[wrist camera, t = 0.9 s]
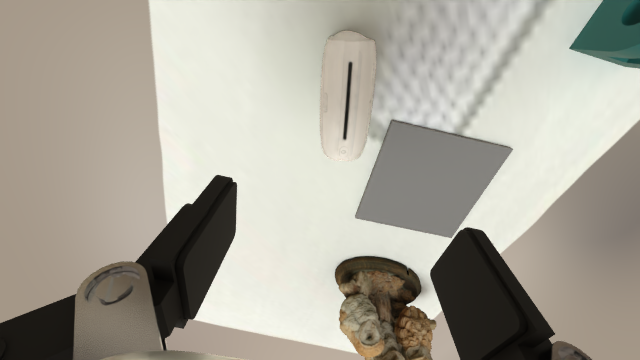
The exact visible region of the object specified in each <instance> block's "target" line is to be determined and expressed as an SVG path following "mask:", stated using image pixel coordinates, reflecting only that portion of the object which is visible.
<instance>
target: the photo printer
mask: <svg viewBox="0 0 640 360" xmlns="http://www.w3.org/2000/svg"><path fill="white" fill-rule="evenodd" d="M375 74H376V45H375V40H372V39H369V38H366V37H364V36H363V35H361V34H359V33H356V32H353V31H341V32H339V33H337V34H336V35H335V36H330V37H329V38H328V39H327V41H326V45H325V50H324V54H323V62H322V75H321V97H320V135H321V143H322V148H323V152H324V154H325V155H326V156H327V157H328V158H330V159H332V160H334V161H340V160H344V161H353V160H355V159H357V158H359V157H360V156H361V154H362V152H363V149H364V147H365V144H366V139H367V134H368V129H369V124H370V117H371V110H372V103H373V95H374V85H375Z"/></svg>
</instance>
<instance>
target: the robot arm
mask: <svg viewBox="0 0 640 360" xmlns="http://www.w3.org/2000/svg"><path fill="white" fill-rule="evenodd" d="M236 201H237V183H236V182H233V179H232V178H230V177H225V176H220V175H216V176H215V177H214V178H213V180H212V181H211V182H210V183H209V185H208V186H207V187H206V188H205V189H204V191H203V192H202V193H201V194H200V196H199V197H198V198H197V199H196V201H195V202H194V203H193V204H185V205H184V206H183V207H182V208H181V209H180V211H179V212H178V213H177V214H176V215H175V216H174V218H173V219H172V220H171V221H170V222H169V223H168V225H167V226H166V227H165V228H164V229H163V231H162V232H161V233H160V234H159V235H158V236H157V237H156V239H155V240H154V241H153V242H152V243H151V245H150V246H149V247H148V248H147V249H146V250H145V251H144V253H143V254H142V255H141V256H140V257H139V259H138V260H137V261H136V262H118V263H114V264H110V265H108V266H105V267H102V268H101V269H99V270H97V271H96V272H94V273H92V274H91V275H90V276H89V277H88V278H86V279H85V280H84V281H83V283H82V284H81V286H80V287H79V288H78V290H77V294H75V295H72V296H70V297H67V298H64V299H62V300H60V301H57V302H54V303H52V304H49V305H46V306H44V307H41V308H39V309H36V310H33V311H31V312H29V313H26V314H23V315H21V316H18V317H15V318H13V319H10V320H8V321H5V322H3V323H0V360H248V359H241V358H233V357H226V356H220V355H213V354H206V353H195V352H185V351H168V348H167V344H166V339H165V338H167V337H168V336H170V334H171V333H172V331H173V329H174V327H178V328H184V327H185V325H186V323H187V321H188V319H191V320H193V319H194V318H195V316H196V314H197V312H198V310H199V308H200V306H201V304H202V302H203V300H204V298H205V296H206V294H207V292H208V290H209V288H210V286H211V284H212V282H213V280H214V278H215V276H216V274H217V272H218V269H219V267H220V265H221V263H222V261H223V259H224V257H225V255H226V253H227V251H228V249H229V247H230V245H231V243H232V241H233V239H234V236H235V232H236ZM430 276H431V280H432V282H433V285H434V288H435V291H436V293H437V296H438V299H439V302H440V304H441V307H442V310H443V312H444V315H445V318H446V321H447V324H448V326H449V329H450V332H451V335H452V337H453V340H454V343H455V346H456V348H457V351H458V354H459V357H460V360H592V359H591V358H590V357H589V356H587V355H586V354H585V353H583V352H582V351H581V350H580V349H578V348H577V347H575V346H573V345H572V344H569V343H566V342H563V341H557V342H555V343H553V344H552V343H551V342H550V340H549V338H550V337H552V336H553V335H555V333H554V332H553V330H552V329H551V327H550V326H549V324H548V323H547V321H546V320H545V319H544V317H543V316H542V314H541V313H540V312H539V310H538V309H537V307H536V306H535V304H534V303H533V301H532V300H531V299H530V297H529V296H528V294H527V293H526V291H525V290H524V289H523V287H522V286H521V284H520V283H519V282H518V280H517V279H516V277H515V276H514V274H513V273H512V271H511V270H510V268H509V267H508V266H507V264H506V263H505V261H504V260H503V259H502V257H501V256H500V254H499V253H498V251H497V250H496V248H495V247H494V246H493V244H492V243H491V241H490V240H489V238H488V237H487V236H486V234H485V233H484V232H483V231H482V230H478V229H473V228H464V229H463V230H460V231H459V232H458V234H457V235H456V236H455V238H454V239H453V240H452V242H451V243H450V245H449V246H448V247H447V249H446V250H445V251H444V253H443V254H442V255H441V257H440V258H439V259H438V261H437V262H436V264H435V265H434V266H433V268H432V269H431V272H430Z"/></svg>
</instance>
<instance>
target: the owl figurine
mask: <svg viewBox="0 0 640 360" xmlns="http://www.w3.org/2000/svg"><path fill="white" fill-rule="evenodd" d="M408 272H409V275H408V274H407V267H405V266H404V265H403V264H401V263H398V262H395V261H392V260H389V259H385V258H379V257H369V256H365V257H356V258H354V259H352V260H346V261H344V262H342V263H341V264H340V265H339V266H338V267H337V269H336V271H335V278H336V282H337V284H338V285H339V290H340V291H341V292H342V293H343V294H344V296H345V297H346V299H345V300H344V302H343V303H342V306H341V309H340V318H339V321H340V329H341V331H342V332H343V333H344V334H345V335H347V337H348V338H349V340H350V342H351V343H352V344H353V345H354V347H355V349H356V351H357V352H358V353H359V354H360V355H361V356H364V357H365V360H432V358H431V354H430V350H431V341H432V330H434V329H435V327H436V322H435V320H430V319H428V318H427V315H426V314H425V313H424V312H423V311H421V310H420V309H419V308H416V307H415V306H410V307H407V306H406V305H407V304H408V303H411V302H413V301H414V300H415V299H416V297H417V296H418V295H419V294H420V292H421V284H420V281H419V278H418V277H417V275H416V274H415V273H414V272H413V271H412V270H411V269H408Z"/></svg>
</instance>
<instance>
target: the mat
mask: <svg viewBox="0 0 640 360" xmlns="http://www.w3.org/2000/svg"><path fill="white" fill-rule="evenodd" d="M512 150H513V149H512V148H510V147H506V146H502V145H497V144H493V143H489V142H484V141H480V140H476V139H471V138H467V137H463V136H458V135H454V134H450V133H446V132H441V131H437V130H433V129H428V128H424V127H420V126H415V125H411V124H407V123H403V122H398V121H394V120H391V123H390V125H389V128H388V130H387V133H386V136H385V138H384V141H383V144H382V146H381V149H380V152H379V154H378V157H377V160H376V162H375V165H374V168H373V170H372V173H371V176H370V178H369V181H368V183H367V186H366V189H365V191H364V194H363V197H362V199H361V202H360V205H359V207H358V210H357V213H356V215H355V218H357V219H362V220H367V221H372V222H376V223H381V224H386V225H391V226H396V227H401V228H406V229H410V230H415V231H420V232H425V233H430V234H435V235H440V236H444V237H449V238H452V236H453V235H454V233H455V232H456V231H457V229H458V228H459V226H460V225H461V223H462V222H463V221H464V219H465V218H466V216H467V215H468V213H469V212H470V210H471V209H472V208H473V206H474V205H475V203H476V202H477V200H478V199H479V198H480V196H481V195H482V193H483V192H484V190H485V189H486V187H487V186H488V185H489V183H490V182H491V180H492V179H493V177H494V176H495V175H496V173H497V172H498V170H499V169H500V167H501V166H502V164H503V163H504V162H505V160H506V159H507V157H508V156H509V154H510V153H511V152H512Z"/></svg>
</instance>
